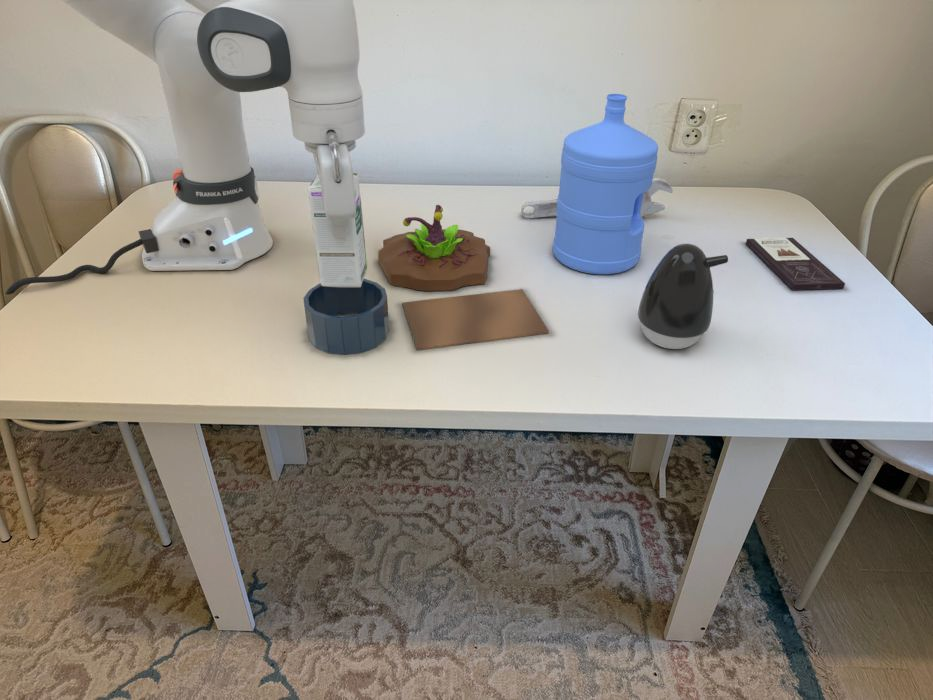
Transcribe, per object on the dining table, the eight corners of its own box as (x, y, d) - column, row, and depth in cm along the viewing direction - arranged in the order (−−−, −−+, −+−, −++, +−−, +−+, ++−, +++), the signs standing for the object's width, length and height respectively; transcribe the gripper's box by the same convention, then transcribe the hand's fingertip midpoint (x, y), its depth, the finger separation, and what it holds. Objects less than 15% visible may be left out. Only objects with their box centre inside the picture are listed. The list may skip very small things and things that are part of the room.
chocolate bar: (793, 285, 110) (746, 238, 125) (792, 290, 111) (745, 243, 125) (845, 283, 111) (792, 237, 126) (843, 288, 111) (791, 242, 126)
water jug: (568, 280, 113) (587, 111, 97) (541, 241, 126) (554, 86, 110) (653, 272, 116) (685, 107, 100) (618, 235, 128) (642, 82, 112)
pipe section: (310, 359, 93) (305, 323, 90) (307, 316, 102) (302, 282, 99) (394, 348, 95) (392, 313, 92) (383, 307, 105) (380, 274, 101)
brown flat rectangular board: (416, 350, 95) (416, 347, 95) (402, 305, 106) (402, 302, 105) (548, 333, 99) (548, 330, 99) (522, 291, 110) (522, 289, 109)
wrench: (522, 227, 137) (668, 213, 135) (522, 231, 136) (671, 217, 134) (519, 190, 133) (671, 175, 131) (520, 194, 131) (673, 179, 129)
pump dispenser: (706, 364, 93) (732, 267, 84) (631, 352, 95) (649, 256, 87) (705, 326, 101) (728, 235, 93) (636, 316, 103) (652, 226, 95)
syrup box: (361, 288, 92) (353, 187, 83) (319, 287, 92) (306, 186, 83) (367, 269, 96) (360, 171, 88) (326, 268, 96) (315, 170, 88)
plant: (381, 295, 108) (377, 232, 102) (376, 244, 124) (372, 186, 117) (502, 288, 110) (505, 225, 104) (482, 238, 126) (483, 181, 120)
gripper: (363, 144, 74) (371, 256, 82) (345, 98, 90) (353, 195, 98) (306, 147, 73) (319, 261, 80) (298, 100, 89) (310, 198, 97)
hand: (338, 224), depth 89 cm, fingers closed on syrup box, 6 cm apart
